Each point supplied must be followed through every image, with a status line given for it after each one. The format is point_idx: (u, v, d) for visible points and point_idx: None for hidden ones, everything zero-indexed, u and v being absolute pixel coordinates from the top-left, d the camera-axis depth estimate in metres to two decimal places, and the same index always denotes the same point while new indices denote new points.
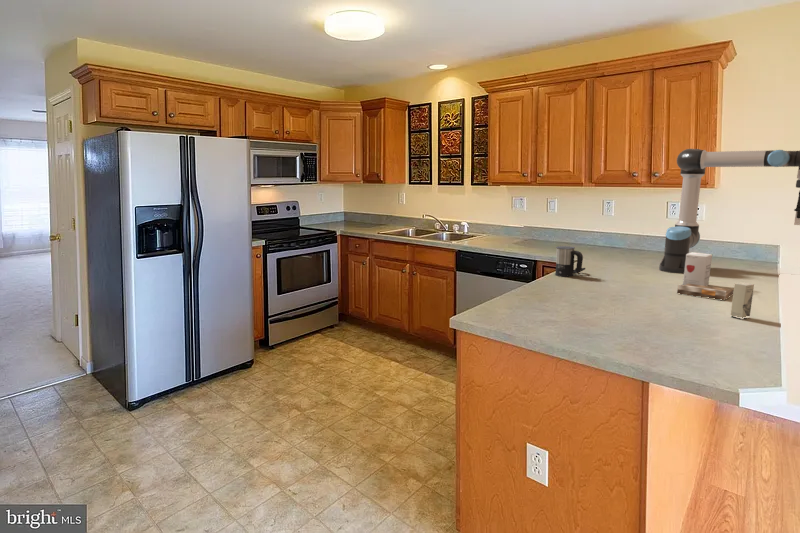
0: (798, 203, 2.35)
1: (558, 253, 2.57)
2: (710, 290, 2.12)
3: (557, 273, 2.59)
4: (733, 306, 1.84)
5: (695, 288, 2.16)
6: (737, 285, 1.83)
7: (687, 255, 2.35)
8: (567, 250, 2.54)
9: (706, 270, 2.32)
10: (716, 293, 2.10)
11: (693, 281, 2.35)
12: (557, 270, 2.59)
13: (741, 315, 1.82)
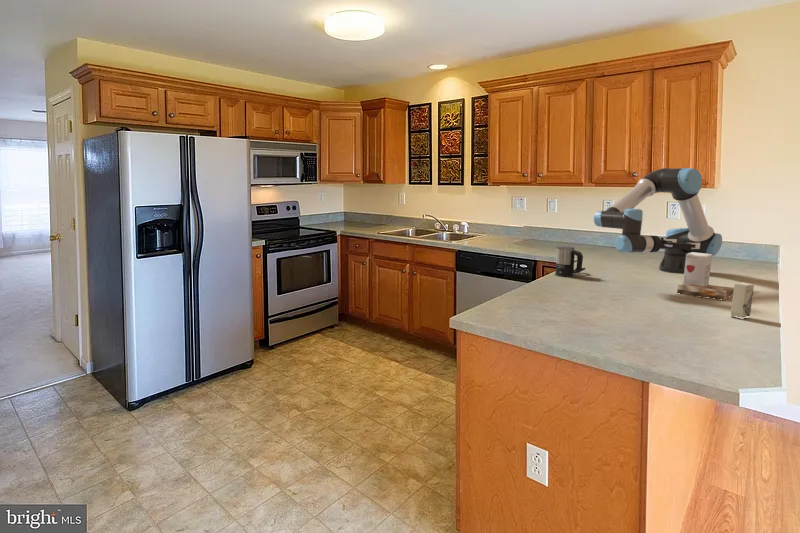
0: None
1: (558, 253, 2.57)
2: (710, 290, 2.12)
3: (557, 273, 2.59)
4: (733, 306, 1.84)
5: (695, 288, 2.16)
6: (737, 285, 1.83)
7: (687, 255, 2.35)
8: (567, 250, 2.55)
9: (706, 270, 2.32)
10: (716, 293, 2.10)
11: (693, 281, 2.35)
12: (557, 270, 2.59)
13: (741, 315, 1.82)
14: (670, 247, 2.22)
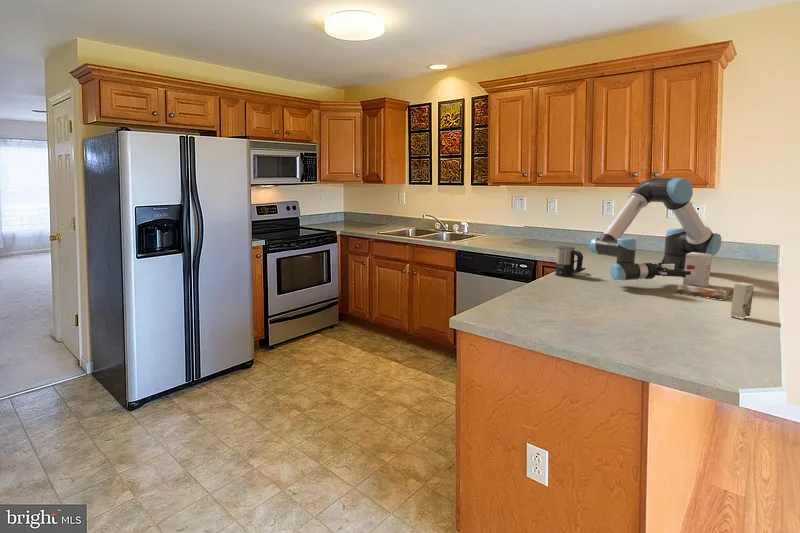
0: None
1: (558, 253, 2.58)
2: (710, 290, 2.12)
3: (557, 273, 2.59)
4: (733, 306, 1.84)
5: (695, 288, 2.16)
6: (737, 285, 1.83)
7: (687, 255, 2.35)
8: (567, 250, 2.55)
9: (706, 270, 2.32)
10: (716, 293, 2.10)
11: (693, 281, 2.35)
12: (557, 270, 2.59)
13: (741, 315, 1.82)
14: (664, 275, 2.26)
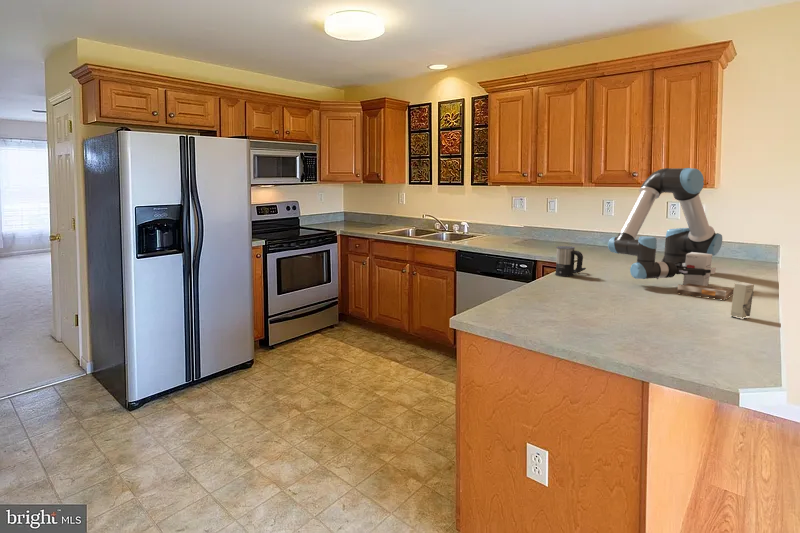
0: None
1: (558, 253, 2.58)
2: (710, 290, 2.12)
3: (557, 273, 2.60)
4: (733, 306, 1.84)
5: (695, 288, 2.16)
6: (737, 285, 1.83)
7: (687, 255, 2.35)
8: (567, 250, 2.55)
9: None
10: (716, 293, 2.10)
11: (693, 281, 2.35)
12: (557, 270, 2.59)
13: (741, 315, 1.82)
14: (685, 273, 2.28)
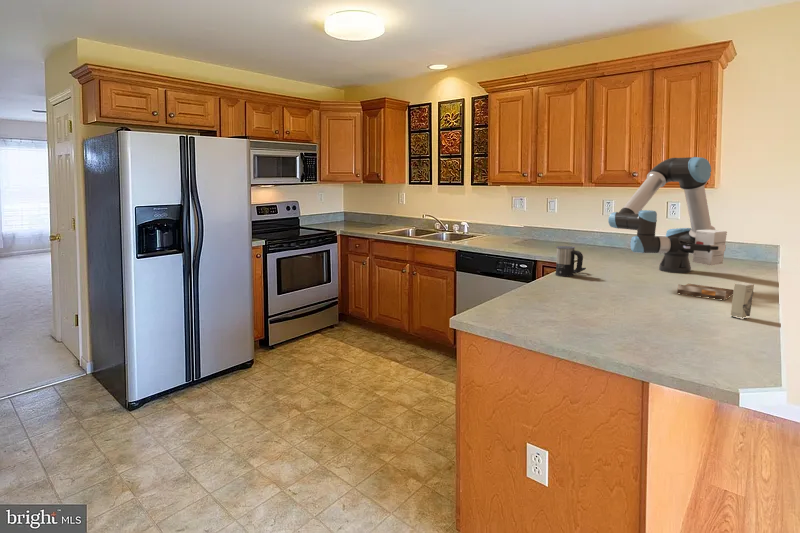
0: None
1: (558, 253, 2.58)
2: (710, 290, 2.12)
3: (557, 273, 2.60)
4: (733, 306, 1.84)
5: (695, 288, 2.16)
6: (737, 285, 1.83)
7: (697, 231, 2.27)
8: (567, 250, 2.55)
9: None
10: (716, 293, 2.10)
11: (702, 258, 2.26)
12: (557, 270, 2.60)
13: (741, 315, 1.82)
14: (687, 249, 2.22)
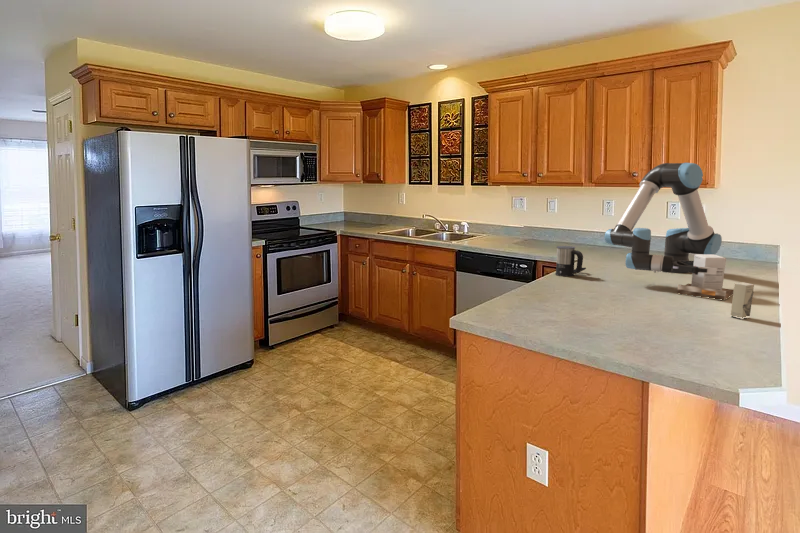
0: None
1: (558, 253, 2.58)
2: (710, 290, 2.12)
3: (557, 273, 2.60)
4: (733, 306, 1.84)
5: (695, 288, 2.16)
6: (737, 285, 1.83)
7: (695, 255, 2.22)
8: (567, 250, 2.55)
9: None
10: (716, 293, 2.10)
11: (696, 283, 2.20)
12: (557, 270, 2.60)
13: (741, 315, 1.82)
14: (675, 269, 2.21)
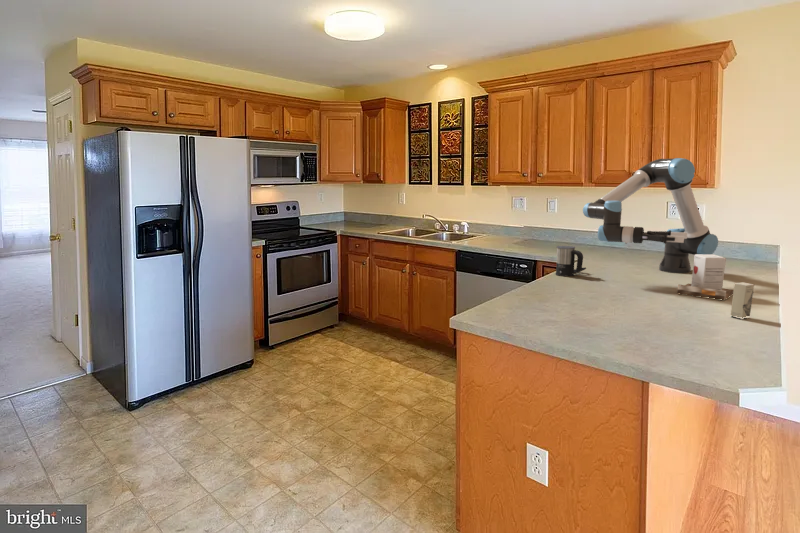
0: None
1: (558, 253, 2.58)
2: (710, 290, 2.12)
3: (557, 273, 2.60)
4: (733, 306, 1.84)
5: (695, 288, 2.16)
6: (737, 285, 1.83)
7: (695, 255, 2.22)
8: (567, 250, 2.55)
9: (708, 273, 2.15)
10: (716, 293, 2.10)
11: (696, 283, 2.20)
12: (557, 270, 2.60)
13: (741, 315, 1.82)
14: (644, 239, 2.25)
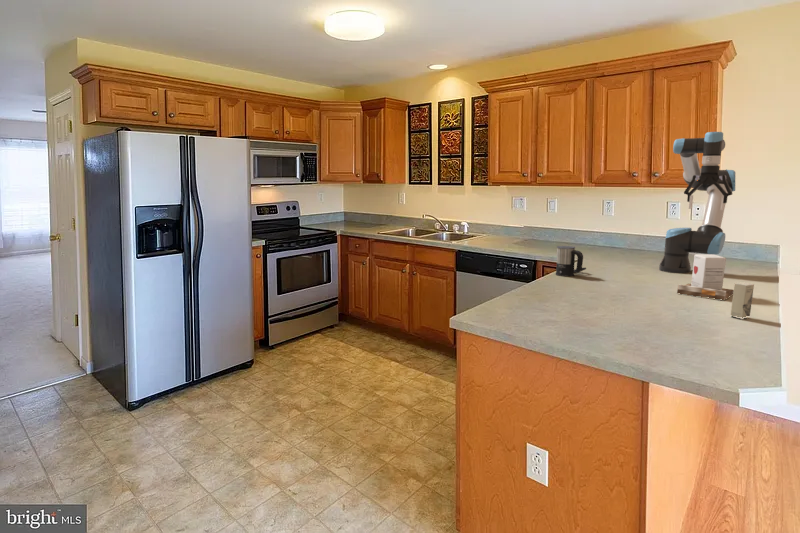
0: None
1: (558, 253, 2.59)
2: (710, 290, 2.12)
3: (557, 273, 2.60)
4: (733, 306, 1.84)
5: (695, 288, 2.16)
6: (737, 285, 1.83)
7: (695, 255, 2.22)
8: (567, 250, 2.56)
9: (708, 273, 2.15)
10: (716, 293, 2.10)
11: (696, 283, 2.20)
12: (557, 270, 2.60)
13: (741, 315, 1.82)
14: (725, 177, 2.37)
